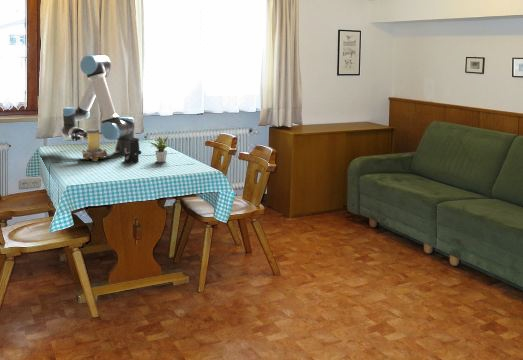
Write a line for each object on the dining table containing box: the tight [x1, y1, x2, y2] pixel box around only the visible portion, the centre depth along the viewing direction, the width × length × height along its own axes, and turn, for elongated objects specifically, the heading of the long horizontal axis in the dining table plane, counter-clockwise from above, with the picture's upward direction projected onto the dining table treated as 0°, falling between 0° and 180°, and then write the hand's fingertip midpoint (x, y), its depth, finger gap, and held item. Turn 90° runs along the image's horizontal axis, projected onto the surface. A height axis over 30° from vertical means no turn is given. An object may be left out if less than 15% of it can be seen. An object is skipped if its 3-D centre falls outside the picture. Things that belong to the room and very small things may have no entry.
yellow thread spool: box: [86, 129, 103, 153], centre depth 393 cm, size 9×9×13 cm
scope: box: [123, 137, 142, 164], centre depth 387 cm, size 8×14×10 cm
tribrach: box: [81, 149, 108, 162], centre depth 395 cm, size 14×14×5 cm
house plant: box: [147, 135, 171, 163], centre depth 389 cm, size 14×14×16 cm
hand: (93, 137), depth 392 cm, fingers open, 12 cm apart
